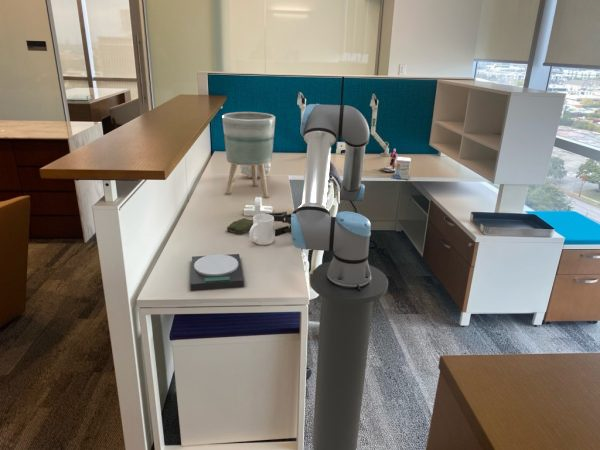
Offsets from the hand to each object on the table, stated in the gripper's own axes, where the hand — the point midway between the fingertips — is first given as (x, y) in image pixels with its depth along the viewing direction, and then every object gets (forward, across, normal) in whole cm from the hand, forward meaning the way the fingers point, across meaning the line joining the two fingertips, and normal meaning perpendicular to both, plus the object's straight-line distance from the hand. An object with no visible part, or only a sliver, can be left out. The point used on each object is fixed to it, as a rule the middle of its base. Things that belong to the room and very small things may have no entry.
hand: (264, 227), depth 179 cm
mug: (+2, 0, -6) cm, 7 cm away
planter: (-32, +55, -6) cm, 64 cm away
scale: (+30, -12, -6) cm, 33 cm away
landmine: (-1, +14, -6) cm, 15 cm away
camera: (-50, +76, -6) cm, 91 cm away
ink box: (-126, +26, -6) cm, 128 cm away
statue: (-131, +39, -6) cm, 136 cm away
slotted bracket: (-17, +27, -6) cm, 32 cm away
